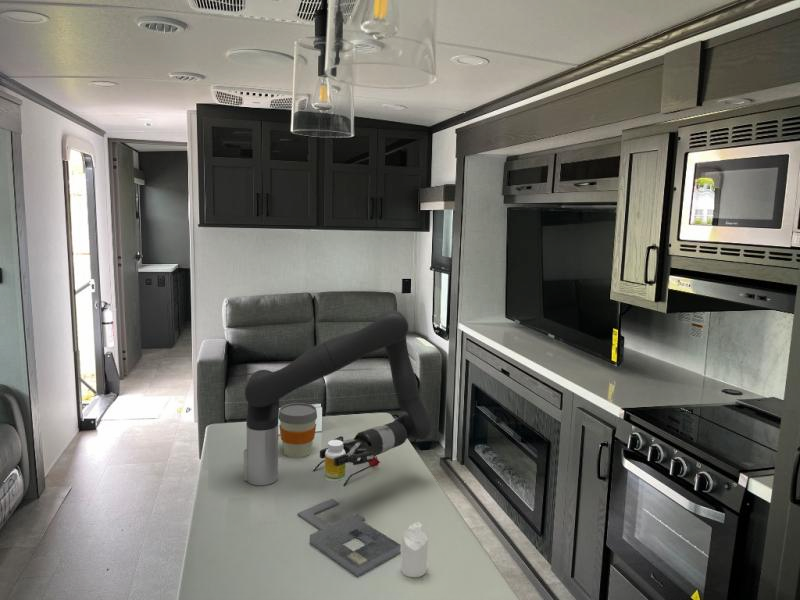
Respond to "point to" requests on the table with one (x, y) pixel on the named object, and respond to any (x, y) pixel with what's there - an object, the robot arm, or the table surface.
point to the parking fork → (311, 512)
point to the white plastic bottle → (414, 551)
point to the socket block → (362, 558)
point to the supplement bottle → (332, 452)
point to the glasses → (372, 464)
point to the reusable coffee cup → (297, 428)
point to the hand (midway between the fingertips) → (327, 458)
